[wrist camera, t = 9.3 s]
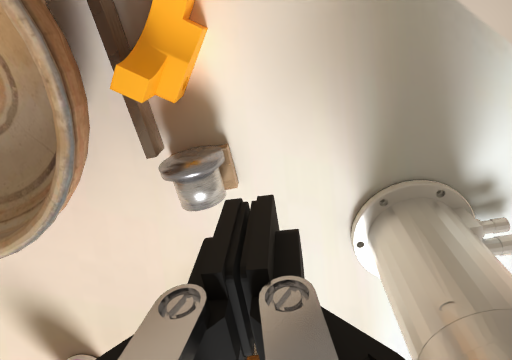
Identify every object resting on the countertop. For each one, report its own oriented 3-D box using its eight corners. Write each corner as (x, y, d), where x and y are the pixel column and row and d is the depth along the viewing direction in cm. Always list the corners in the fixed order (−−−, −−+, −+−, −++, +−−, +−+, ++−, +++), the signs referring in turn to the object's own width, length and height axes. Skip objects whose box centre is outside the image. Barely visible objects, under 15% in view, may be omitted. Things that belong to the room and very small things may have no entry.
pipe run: (158, -120, 26) (123, -159, 20) (238, 182, 36) (231, 214, 30) (67, -91, 27) (9, -121, 21) (171, 194, 37) (152, 227, 31)
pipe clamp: (183, 95, 33) (163, 112, 27) (140, 75, 32) (109, 88, 26) (232, -40, 28) (220, -55, 22) (182, -67, 27) (156, -90, 21)
